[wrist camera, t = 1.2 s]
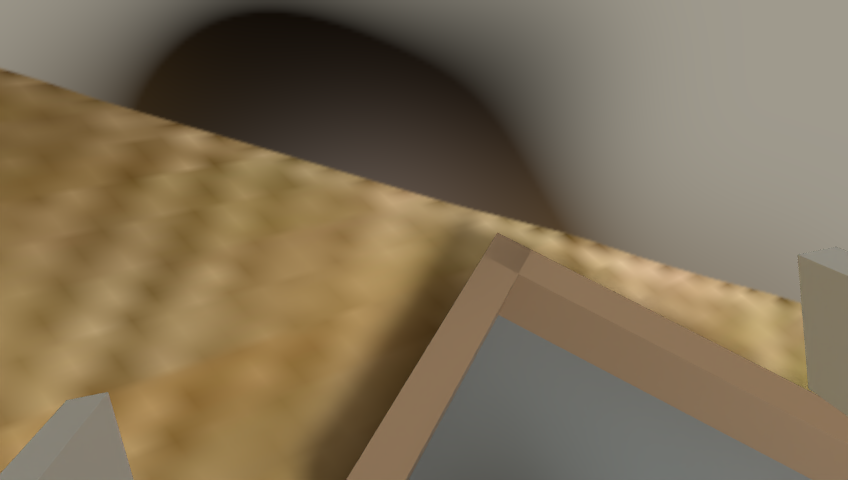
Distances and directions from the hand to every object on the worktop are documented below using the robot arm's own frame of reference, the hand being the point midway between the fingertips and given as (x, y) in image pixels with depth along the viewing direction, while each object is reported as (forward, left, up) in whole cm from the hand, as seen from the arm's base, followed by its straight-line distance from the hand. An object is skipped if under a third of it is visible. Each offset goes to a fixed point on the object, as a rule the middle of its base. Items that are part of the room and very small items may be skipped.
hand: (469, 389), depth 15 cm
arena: (+8, +12, -21) cm, 26 cm away
